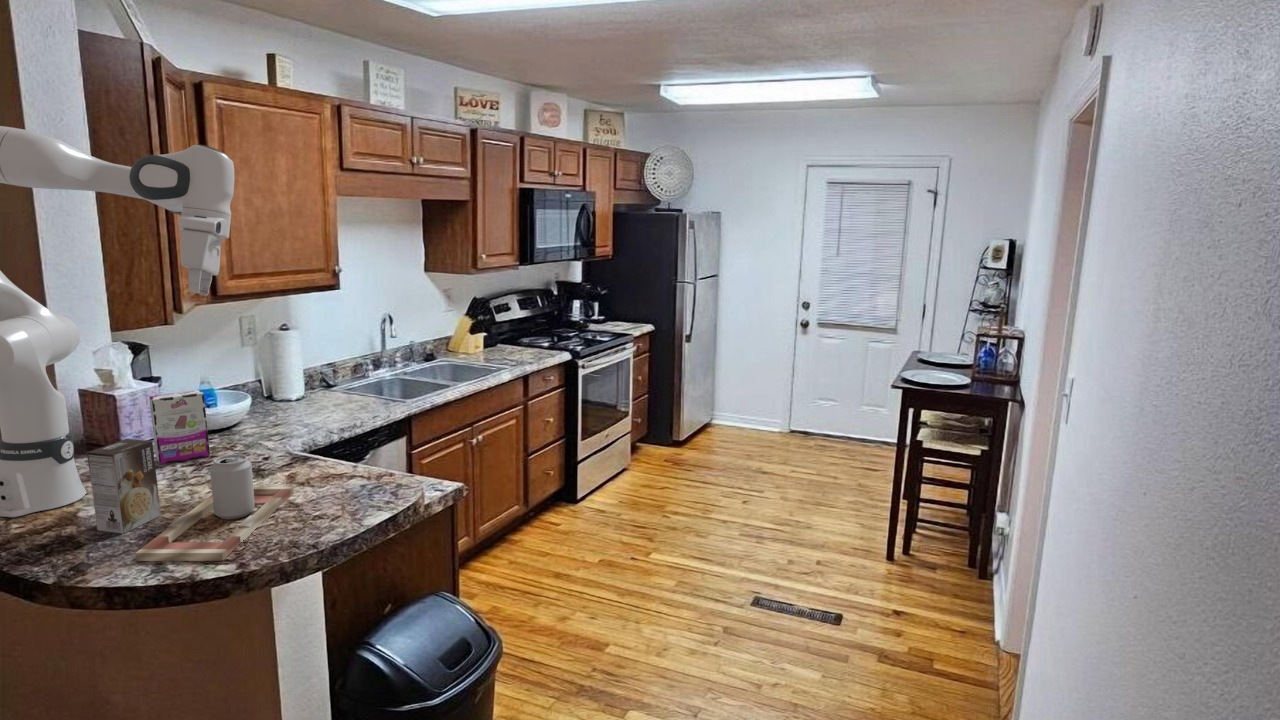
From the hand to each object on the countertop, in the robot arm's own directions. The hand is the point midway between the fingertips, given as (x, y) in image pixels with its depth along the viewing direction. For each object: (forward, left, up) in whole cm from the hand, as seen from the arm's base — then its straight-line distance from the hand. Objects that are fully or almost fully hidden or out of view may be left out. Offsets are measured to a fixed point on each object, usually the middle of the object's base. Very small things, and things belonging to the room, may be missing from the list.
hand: (198, 294), depth 157 cm
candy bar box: (-20, +27, -45) cm, 56 cm away
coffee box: (-10, -13, -45) cm, 48 cm away
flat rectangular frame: (+8, -13, -44) cm, 47 cm away
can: (+8, -8, -45) cm, 46 cm away
